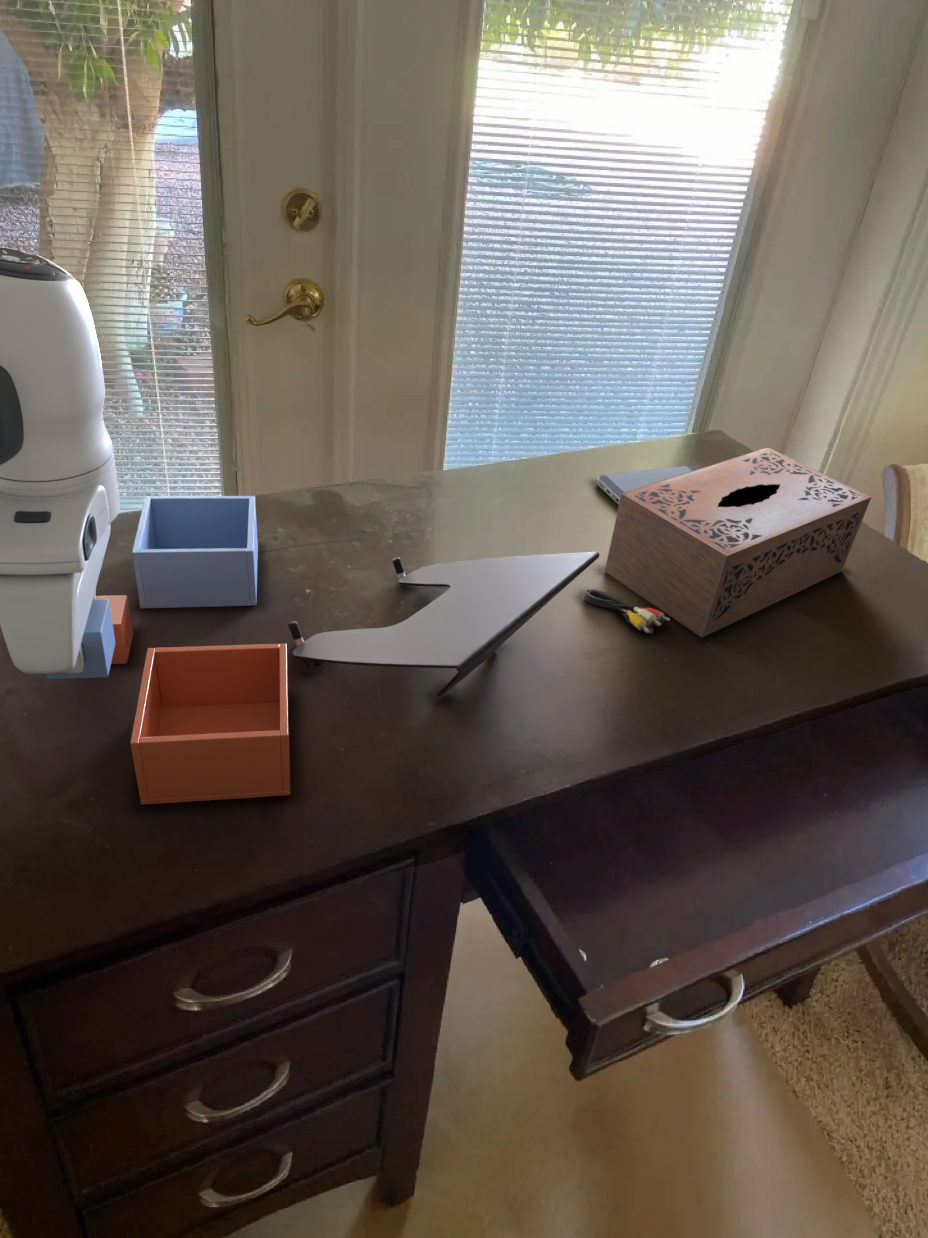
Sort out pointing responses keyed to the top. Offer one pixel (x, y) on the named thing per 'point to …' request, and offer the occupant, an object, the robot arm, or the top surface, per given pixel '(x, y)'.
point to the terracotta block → (120, 627)
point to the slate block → (95, 643)
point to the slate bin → (196, 552)
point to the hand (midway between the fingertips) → (79, 644)
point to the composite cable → (628, 611)
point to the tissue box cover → (733, 537)
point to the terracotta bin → (212, 724)
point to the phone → (637, 479)
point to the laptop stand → (452, 615)
